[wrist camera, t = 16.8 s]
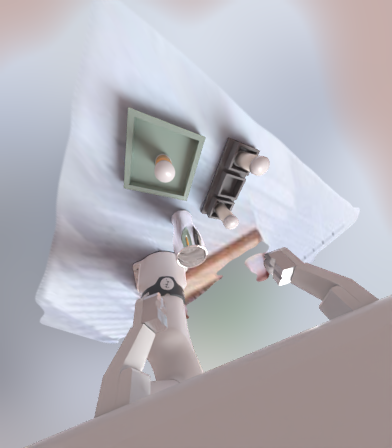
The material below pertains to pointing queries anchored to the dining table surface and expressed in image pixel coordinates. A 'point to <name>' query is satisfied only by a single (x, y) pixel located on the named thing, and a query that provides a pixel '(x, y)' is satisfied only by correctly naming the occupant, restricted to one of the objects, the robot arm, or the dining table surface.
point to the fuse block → (227, 178)
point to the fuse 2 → (252, 162)
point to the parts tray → (153, 146)
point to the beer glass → (187, 241)
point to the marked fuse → (164, 168)
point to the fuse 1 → (226, 216)
